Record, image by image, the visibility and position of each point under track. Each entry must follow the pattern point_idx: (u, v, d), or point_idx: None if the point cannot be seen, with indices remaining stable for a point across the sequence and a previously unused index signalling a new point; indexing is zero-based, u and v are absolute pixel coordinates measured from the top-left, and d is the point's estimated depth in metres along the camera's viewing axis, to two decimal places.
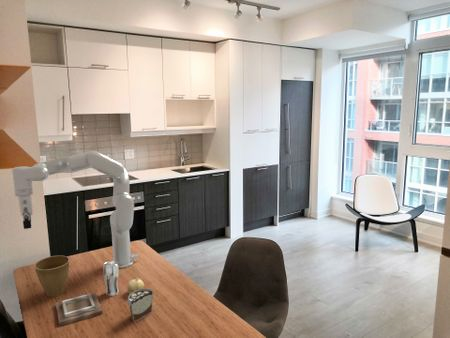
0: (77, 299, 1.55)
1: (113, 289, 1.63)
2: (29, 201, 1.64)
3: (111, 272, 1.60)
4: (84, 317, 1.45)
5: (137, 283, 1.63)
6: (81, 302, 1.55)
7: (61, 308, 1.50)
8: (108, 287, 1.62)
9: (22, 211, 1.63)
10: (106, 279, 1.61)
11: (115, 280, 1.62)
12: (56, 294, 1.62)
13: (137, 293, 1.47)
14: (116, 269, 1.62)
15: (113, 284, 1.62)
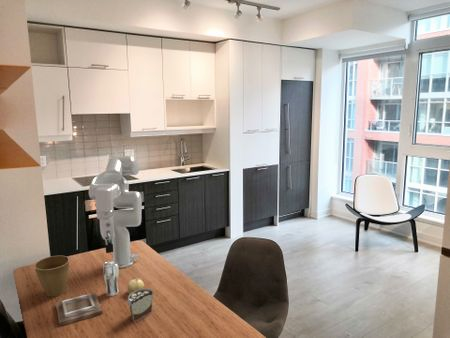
0: (77, 299, 1.55)
1: (113, 289, 1.63)
2: (112, 224, 1.56)
3: (111, 272, 1.60)
4: (84, 317, 1.45)
5: (137, 283, 1.63)
6: (81, 302, 1.55)
7: (61, 308, 1.50)
8: (108, 287, 1.62)
9: (105, 234, 1.55)
10: (106, 279, 1.61)
11: (115, 280, 1.62)
12: (56, 294, 1.62)
13: (137, 293, 1.47)
14: (116, 269, 1.62)
15: (113, 284, 1.62)
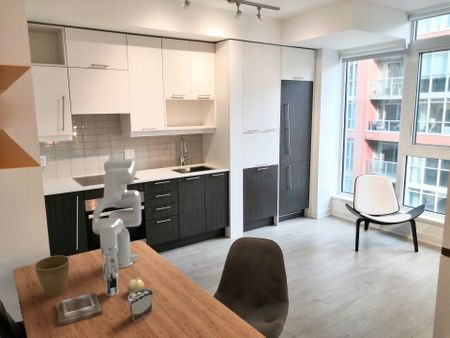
0: (77, 299, 1.55)
1: (113, 289, 1.63)
2: (116, 259, 1.59)
3: (111, 272, 1.60)
4: (84, 317, 1.45)
5: (137, 283, 1.63)
6: (81, 302, 1.55)
7: (61, 308, 1.50)
8: (108, 287, 1.62)
9: (109, 270, 1.58)
10: (106, 279, 1.61)
11: None
12: (56, 294, 1.62)
13: (137, 293, 1.47)
14: None
15: None
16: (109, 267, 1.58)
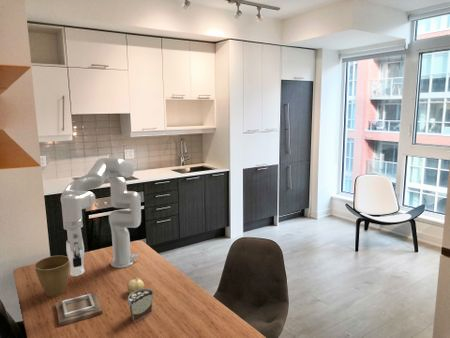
0: (77, 299, 1.55)
1: (78, 269, 1.47)
2: (80, 235, 1.43)
3: None
4: (84, 317, 1.45)
5: (137, 283, 1.63)
6: (81, 302, 1.55)
7: (61, 308, 1.50)
8: (72, 266, 1.46)
9: (72, 247, 1.42)
10: (69, 257, 1.45)
11: None
12: (56, 294, 1.62)
13: (137, 293, 1.47)
14: None
15: None
16: (72, 243, 1.42)
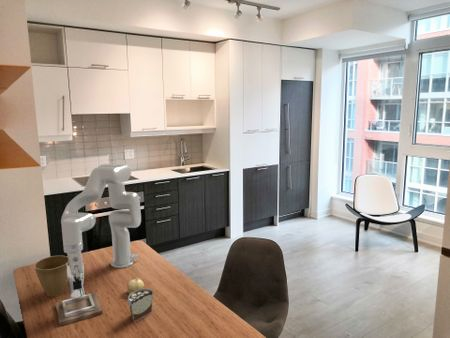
0: (77, 299, 1.55)
1: (78, 291, 1.48)
2: (80, 258, 1.44)
3: None
4: (84, 317, 1.45)
5: (137, 283, 1.63)
6: (81, 302, 1.55)
7: (61, 308, 1.50)
8: (72, 288, 1.47)
9: (72, 270, 1.43)
10: (69, 280, 1.46)
11: None
12: (56, 294, 1.62)
13: (137, 293, 1.47)
14: None
15: None
16: (72, 266, 1.43)
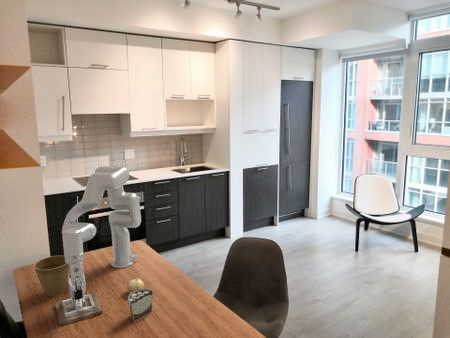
0: None
1: (79, 303, 1.49)
2: (81, 268, 1.45)
3: None
4: (84, 317, 1.45)
5: (137, 283, 1.63)
6: None
7: (61, 308, 1.50)
8: (74, 301, 1.48)
9: (73, 280, 1.44)
10: (71, 292, 1.47)
11: None
12: (56, 294, 1.62)
13: (137, 293, 1.47)
14: None
15: None
16: (73, 277, 1.43)
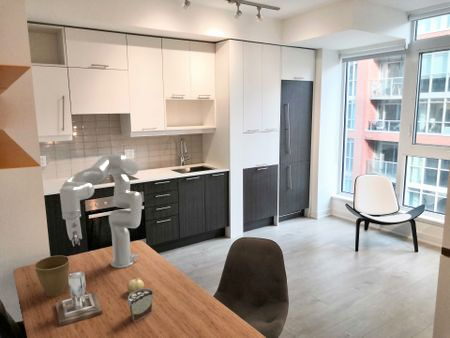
0: None
1: (79, 303, 1.49)
2: (78, 224, 1.50)
3: (76, 284, 1.46)
4: (84, 317, 1.45)
5: (137, 283, 1.63)
6: None
7: (61, 308, 1.50)
8: (73, 301, 1.48)
9: (71, 235, 1.48)
10: (71, 292, 1.47)
11: (81, 293, 1.48)
12: (56, 294, 1.62)
13: (137, 293, 1.47)
14: (82, 281, 1.48)
15: (79, 297, 1.48)
16: (71, 232, 1.48)
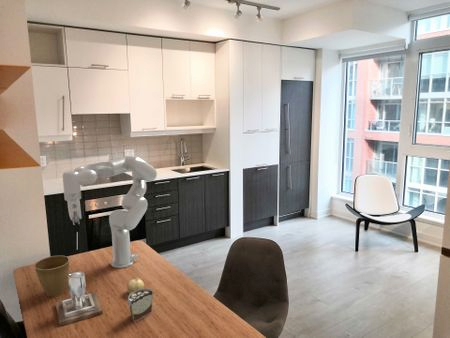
0: None
1: (79, 303, 1.49)
2: (79, 205, 1.66)
3: (76, 284, 1.46)
4: (84, 317, 1.45)
5: (137, 283, 1.63)
6: None
7: (61, 308, 1.50)
8: (74, 301, 1.48)
9: (72, 215, 1.65)
10: (71, 292, 1.47)
11: (81, 293, 1.48)
12: (56, 294, 1.62)
13: (137, 293, 1.47)
14: (82, 281, 1.48)
15: (79, 297, 1.48)
16: (72, 212, 1.65)
